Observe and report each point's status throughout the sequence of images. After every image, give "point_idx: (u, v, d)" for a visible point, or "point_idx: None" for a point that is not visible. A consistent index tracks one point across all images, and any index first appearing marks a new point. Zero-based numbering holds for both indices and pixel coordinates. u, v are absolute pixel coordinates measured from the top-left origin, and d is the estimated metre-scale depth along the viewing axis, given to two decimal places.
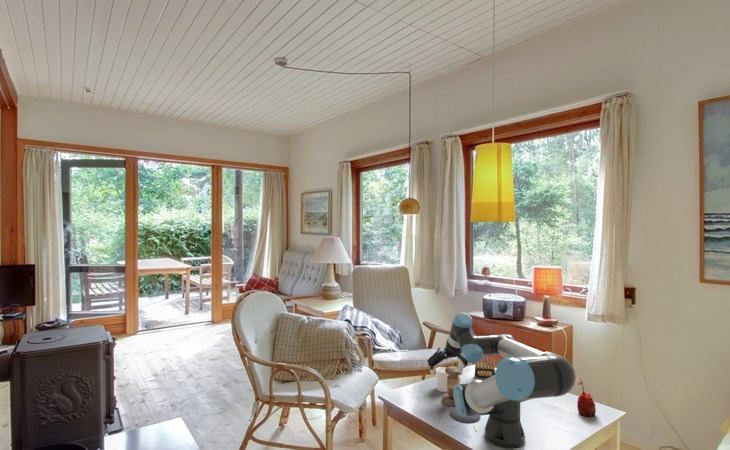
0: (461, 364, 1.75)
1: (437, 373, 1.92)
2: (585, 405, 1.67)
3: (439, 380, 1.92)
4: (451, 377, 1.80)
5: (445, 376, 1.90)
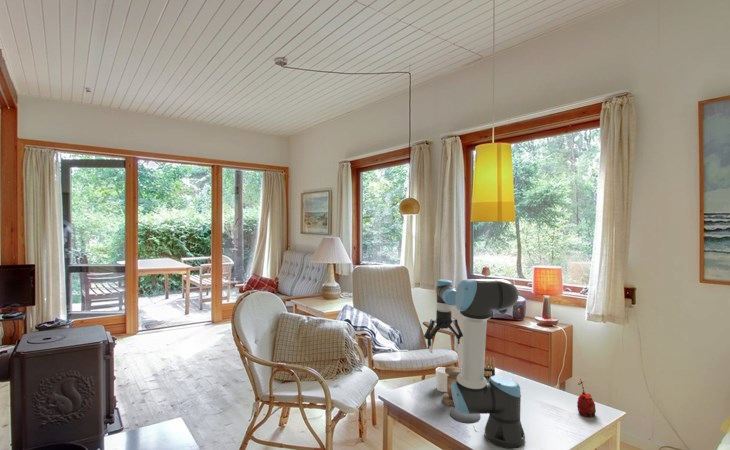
0: (455, 340, 1.94)
1: (437, 373, 1.92)
2: (585, 405, 1.67)
3: (439, 380, 1.92)
4: (451, 377, 1.80)
5: (445, 376, 1.90)
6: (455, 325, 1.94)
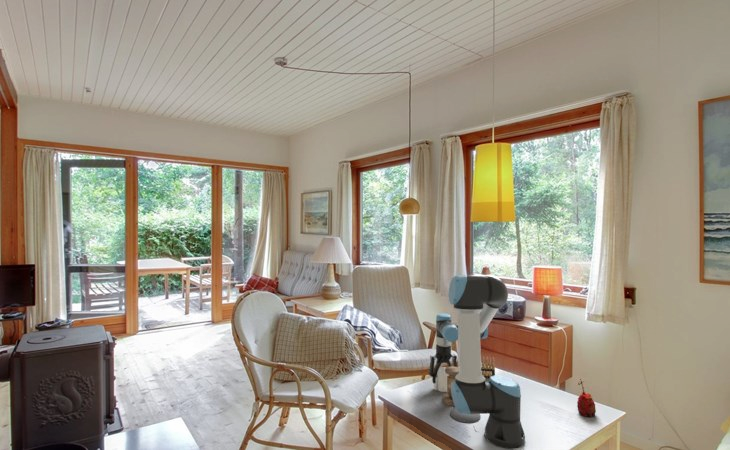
0: None
1: (437, 373, 1.92)
2: (585, 405, 1.67)
3: (439, 380, 1.92)
4: (451, 377, 1.80)
5: (445, 376, 1.90)
6: (453, 361, 1.95)
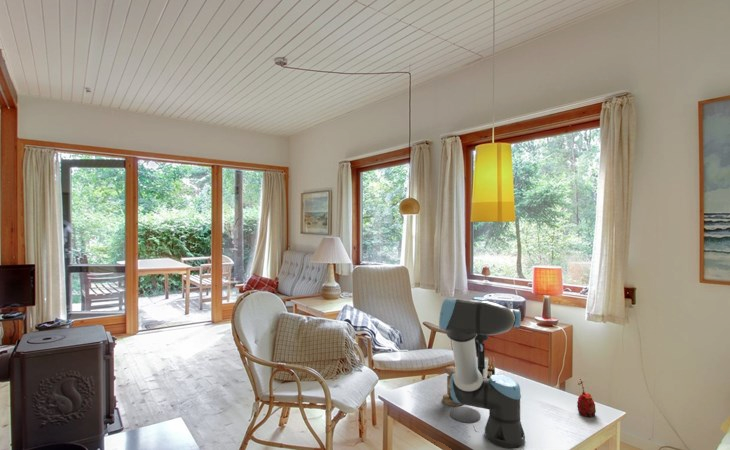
0: None
1: None
2: (585, 405, 1.67)
3: None
4: None
5: None
6: None
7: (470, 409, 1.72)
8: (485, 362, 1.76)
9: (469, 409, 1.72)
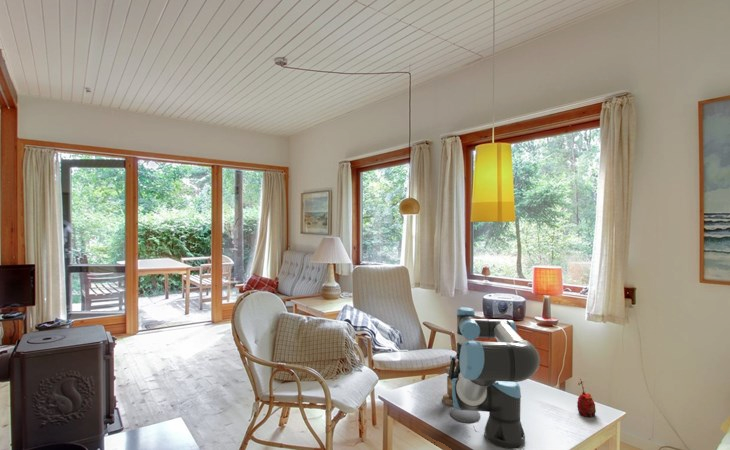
0: None
1: None
2: (585, 405, 1.67)
3: None
4: None
5: None
6: None
7: None
8: (460, 376, 1.66)
9: None
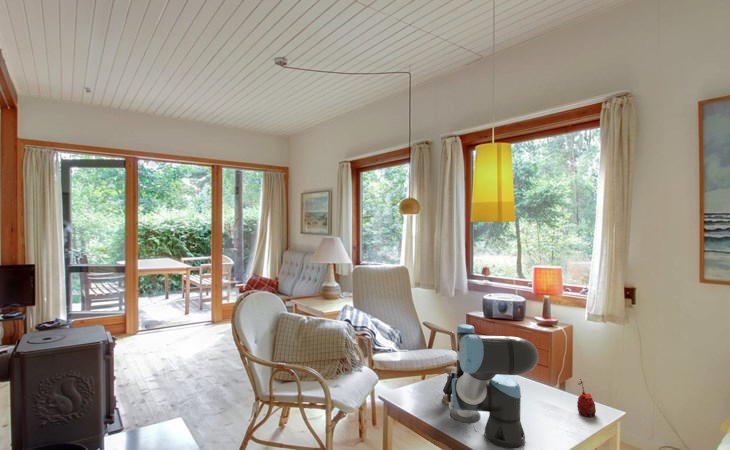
0: None
1: None
2: (585, 405, 1.67)
3: None
4: None
5: None
6: (451, 379, 1.68)
7: None
8: None
9: None
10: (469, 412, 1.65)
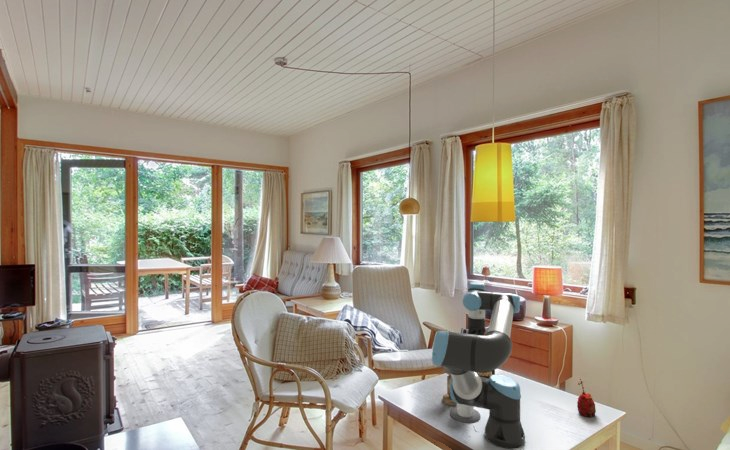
0: None
1: None
2: (585, 405, 1.67)
3: None
4: None
5: None
6: None
7: None
8: None
9: None
10: (469, 412, 1.65)
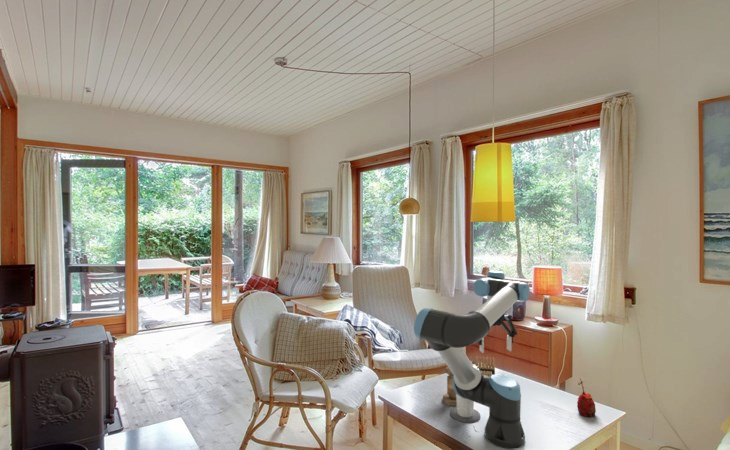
0: None
1: None
2: (585, 405, 1.67)
3: None
4: (451, 377, 1.80)
5: None
6: None
7: None
8: None
9: None
10: (469, 412, 1.65)
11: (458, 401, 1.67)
